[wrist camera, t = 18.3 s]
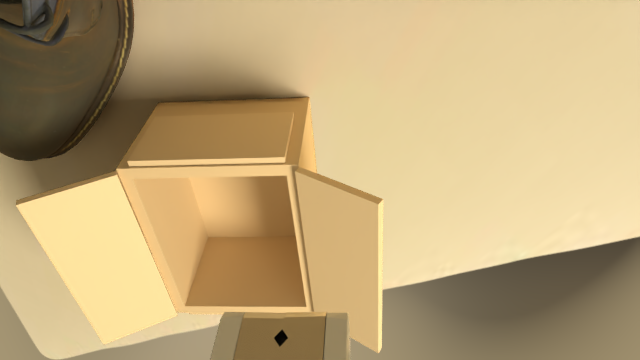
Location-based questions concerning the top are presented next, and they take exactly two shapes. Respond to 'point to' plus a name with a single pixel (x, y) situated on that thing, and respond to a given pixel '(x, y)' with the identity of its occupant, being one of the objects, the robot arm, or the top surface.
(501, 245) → the top surface
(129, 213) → the flap
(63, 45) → the boot
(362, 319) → the flap
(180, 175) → the carton
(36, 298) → the top surface
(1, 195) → the top surface
